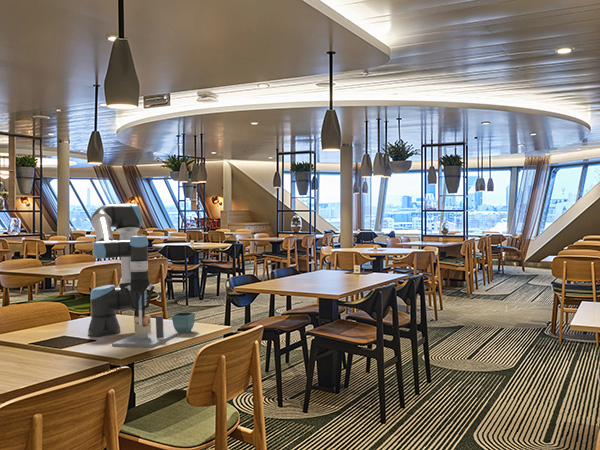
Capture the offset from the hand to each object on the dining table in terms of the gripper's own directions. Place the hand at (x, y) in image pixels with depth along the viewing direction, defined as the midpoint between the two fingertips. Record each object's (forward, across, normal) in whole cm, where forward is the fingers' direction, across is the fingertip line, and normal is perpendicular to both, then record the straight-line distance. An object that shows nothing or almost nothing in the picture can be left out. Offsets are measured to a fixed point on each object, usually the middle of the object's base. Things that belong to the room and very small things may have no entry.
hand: (140, 324), depth 246 cm
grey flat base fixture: (+9, +2, +10) cm, 14 cm away
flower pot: (+9, +20, +22) cm, 32 cm away
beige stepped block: (+6, +1, +7) cm, 9 cm away
